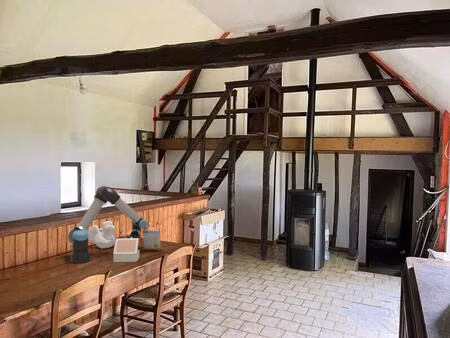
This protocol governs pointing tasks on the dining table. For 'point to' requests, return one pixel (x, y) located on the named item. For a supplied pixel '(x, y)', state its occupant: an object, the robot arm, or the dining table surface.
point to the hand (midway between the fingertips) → (130, 240)
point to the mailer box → (126, 257)
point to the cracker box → (151, 238)
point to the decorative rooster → (102, 235)
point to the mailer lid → (126, 246)
